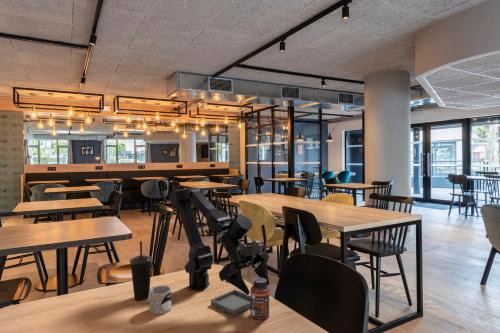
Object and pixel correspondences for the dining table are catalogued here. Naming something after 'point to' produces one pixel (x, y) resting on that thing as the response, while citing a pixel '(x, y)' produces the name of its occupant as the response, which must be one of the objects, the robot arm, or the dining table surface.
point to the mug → (160, 300)
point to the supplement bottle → (260, 299)
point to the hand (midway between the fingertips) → (259, 289)
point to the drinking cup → (141, 275)
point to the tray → (232, 302)
